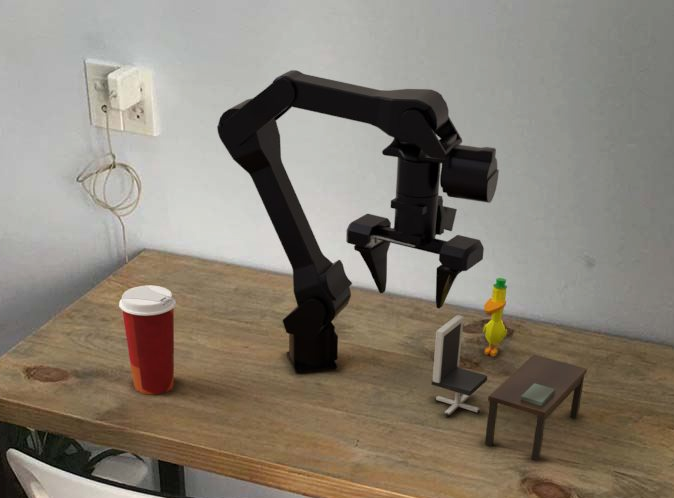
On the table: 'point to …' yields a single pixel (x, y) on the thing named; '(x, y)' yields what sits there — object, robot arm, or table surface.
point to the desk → (537, 393)
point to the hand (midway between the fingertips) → (410, 299)
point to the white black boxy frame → (453, 367)
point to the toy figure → (495, 316)
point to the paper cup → (150, 337)
